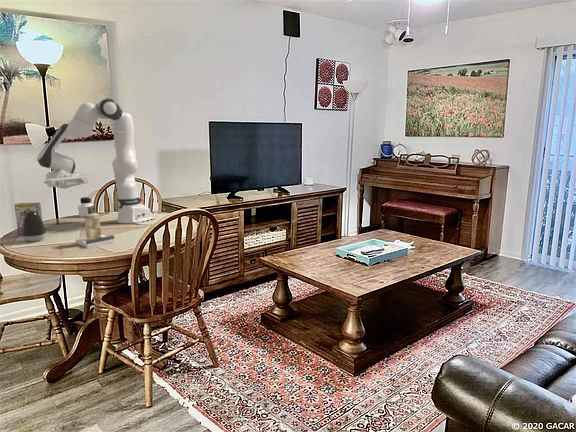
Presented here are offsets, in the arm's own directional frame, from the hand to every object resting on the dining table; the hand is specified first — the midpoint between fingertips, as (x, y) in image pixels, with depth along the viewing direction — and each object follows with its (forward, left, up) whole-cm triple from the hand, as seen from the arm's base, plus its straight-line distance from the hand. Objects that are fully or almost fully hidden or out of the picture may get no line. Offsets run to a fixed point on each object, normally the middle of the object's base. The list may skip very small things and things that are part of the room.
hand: (74, 182), depth 222 cm
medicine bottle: (-24, -46, -28) cm, 59 cm away
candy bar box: (+16, -23, -28) cm, 40 cm away
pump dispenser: (+20, -5, -28) cm, 35 cm away
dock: (+2, +23, -28) cm, 36 cm away
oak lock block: (+2, +22, -26) cm, 34 cm away
